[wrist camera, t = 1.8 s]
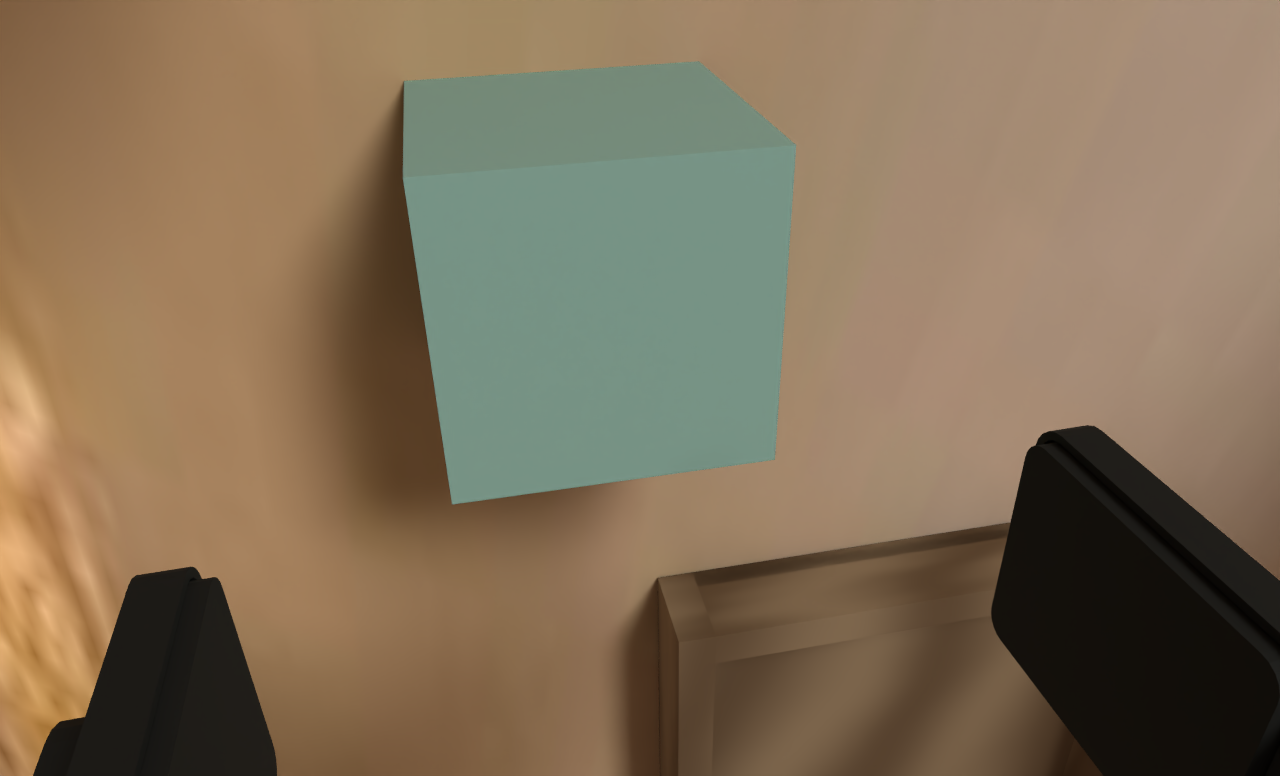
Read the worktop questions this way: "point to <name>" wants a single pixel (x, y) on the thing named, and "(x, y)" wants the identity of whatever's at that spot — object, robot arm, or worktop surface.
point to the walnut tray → (852, 668)
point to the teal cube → (597, 273)
